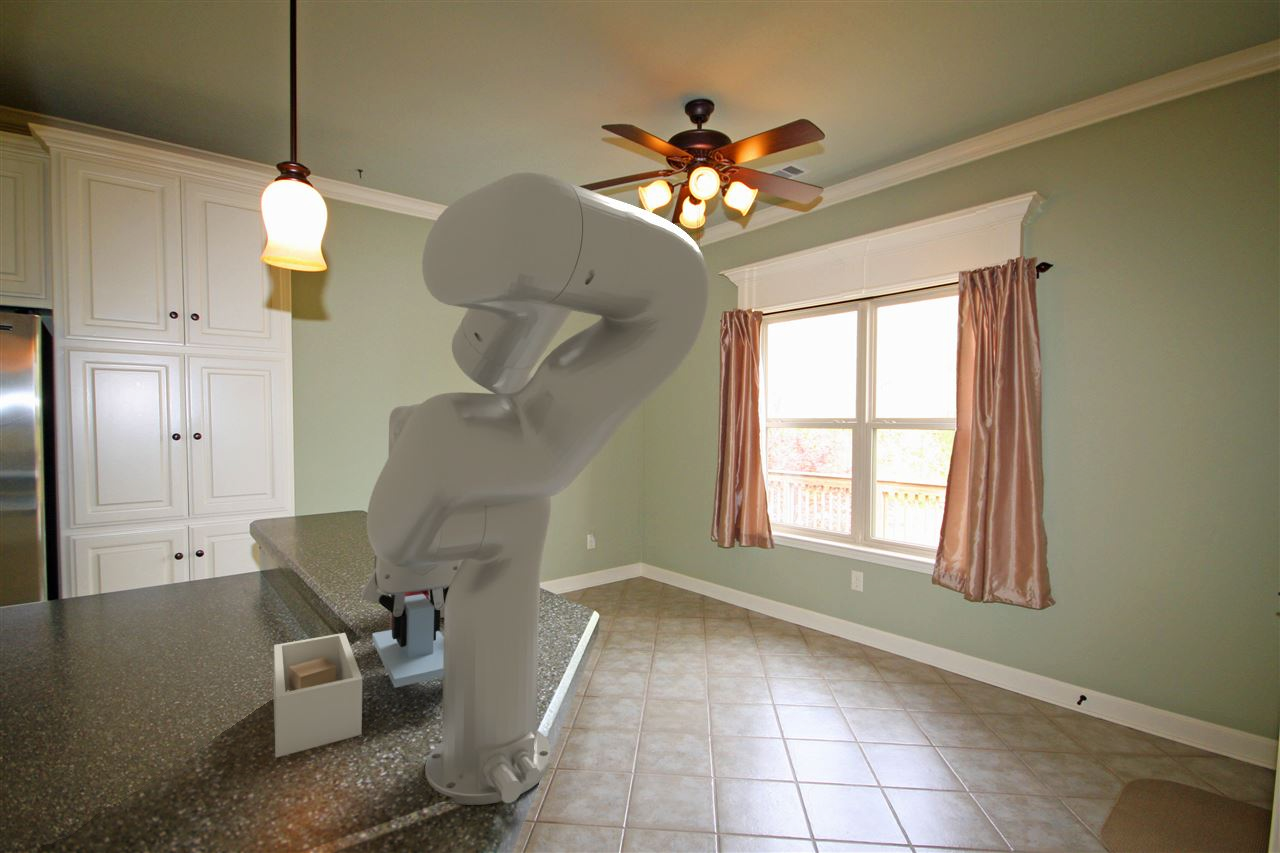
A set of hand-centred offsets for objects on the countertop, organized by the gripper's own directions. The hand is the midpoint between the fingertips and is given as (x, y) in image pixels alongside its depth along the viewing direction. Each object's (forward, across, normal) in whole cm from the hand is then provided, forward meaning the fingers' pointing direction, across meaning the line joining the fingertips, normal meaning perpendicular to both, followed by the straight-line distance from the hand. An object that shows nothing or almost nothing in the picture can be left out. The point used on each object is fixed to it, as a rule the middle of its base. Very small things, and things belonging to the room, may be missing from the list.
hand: (416, 638), depth 73 cm
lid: (+3, 0, 0) cm, 3 cm away
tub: (+7, -11, 0) cm, 13 cm away
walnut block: (+6, -11, +4) cm, 14 cm away
